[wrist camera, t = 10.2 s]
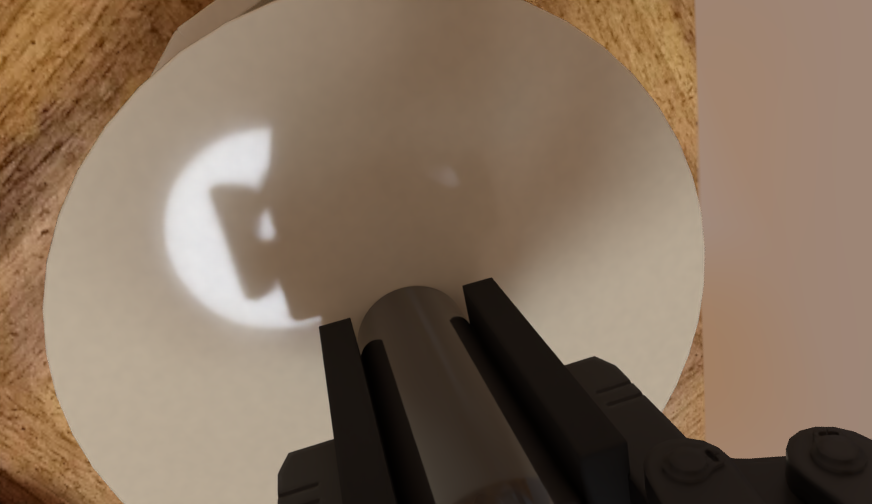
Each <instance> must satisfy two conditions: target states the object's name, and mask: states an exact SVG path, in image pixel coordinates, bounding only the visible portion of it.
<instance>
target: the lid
mask: <svg viewBox="0 0 872 504" xmlns="http://www.w3.org/2000/svg"><path fill="white" fill-rule="evenodd" d="M704 265H705V244H704V234H703V224H702V214H701V209H700V205H699V201H698V197H697V192H696V188H695V184H694V180H693V176H692V174H691V171H690V169H689V166H688V164H687V161H686V158H685V156H684V153H683V151H682V148H681V146H680V143H679V141H678V139H677V137H676V136H675V134H674V132H673V130H672V129H671V127H670V125H669V124H668V122H667V120H666V118H665V117H664V115H663V113H662V111H661V110H660V108H659V106H658V105H657V104H656V102H655V101H654V100H653V99H652V97H651V96H650V95H649V94H648V92H647V91H646V90H645V88H644V87H643V86H642V85H641V83H640V82H639V81H638V80H637V78H636V77H635V76H634V75H633V74H632V73H631V72H630V71H629V70H628V69H627V68H626V67H625V66H624V65H623V64H622V63H621V62H620V61H618V60H617V59H616V58H615V57H614V56H613V55H612V54H611V53H610V52H609V51H608V50H607V49H606V48H605V47H603V46H602V45H601V44H599V43H598V42H597V41H595V40H594V39H592V38H591V37H589V36H588V35H586V34H585V33H583V32H582V31H580V30H579V29H578V28H576V27H575V26H573V25H572V24H570V23H569V22H567V21H566V20H564V19H562V18H560V17H557V16H555V15H553V14H551V13H549V12H547V11H545V10H543V9H541V8H539V7H537V6H535V5H533V4H531V3H529V2H527V1H524V0H275V1H272V2H270V3H268V4H266V5H263V6H261V7H259V8H257V9H254V10H252V11H250V12H248V13H245V14H243V15H241V16H239V17H236V18H234V19H232V20H230V21H227V22H225V23H224V24H222V25H221V26H219V27H218V28H216V29H214V30H213V31H211V32H210V33H208V34H207V35H205V36H203V37H202V38H200V39H199V40H197V41H195V42H194V43H192V44H191V45H189V46H188V47H186V48H184V49H183V50H181V51H180V52H179V53H177V54H176V55H175V56H174V57H173V58H172V59H170V60H169V61H168V62H167V63H166V64H165V65H164V66H162V67H161V68H160V69H159V70H158V71H157V72H155V73H154V74H153V75H152V76H151V77H150V78H148V79H147V80H146V81H145V82H144V83H143V84H141V85H140V86H139V87H138V88H137V90H136V91H135V92H134V93H133V94H132V95H131V97H130V98H129V99H128V100H127V101H126V102H125V104H124V105H123V106H122V107H121V108H120V109H119V110H118V112H117V113H116V114H115V115H114V116H113V117H112V119H111V120H110V121H109V122H108V123H107V124H106V126H105V127H104V129H103V130H102V132H101V133H100V135H99V137H98V138H97V140H96V141H95V143H94V144H93V146H92V148H91V149H90V151H89V152H88V154H87V156H86V157H85V159H84V160H83V162H82V164H81V165H80V167H79V168H78V170H77V173H76V175H75V177H74V180H73V182H72V184H71V187H70V189H69V191H68V194H67V196H66V198H65V201H64V203H63V205H62V208H61V210H60V212H59V215H58V218H57V222H56V226H55V230H54V234H53V238H52V242H51V246H50V250H49V254H48V258H47V262H46V273H45V284H44V296H43V308H42V309H43V322H44V335H45V348H46V355H47V359H48V364H49V368H50V372H51V376H52V380H53V384H54V388H55V392H56V396H57V398H58V401H59V403H60V406H61V408H62V410H63V413H64V415H65V418H66V420H67V422H68V425H69V427H70V429H71V432H72V434H73V436H74V438H75V439H76V441H77V442H78V444H79V446H80V447H81V449H82V451H83V452H84V454H85V455H86V457H87V459H88V460H89V462H90V464H91V465H92V467H93V468H94V470H95V471H96V472H97V473H98V475H99V476H100V477H101V478H102V479H103V480H104V482H105V483H106V484H107V485H108V486H109V488H110V489H111V490H112V491H113V492H114V494H115V495H116V496H117V497H118V498H119V499H120V500H121V501H122V502H123V503H124V504H278V472H279V470H280V468H281V466H282V464H283V462H284V460H285V459H286V457H287V455H288V453H290V452H293V451H296V450H300V449H303V448H306V447H309V446H312V445H316V444H319V443H322V442H325V441H328V440H332V439H334V436H333V429H332V422H331V414H330V407H329V399H328V392H327V384H326V377H325V370H324V362H323V355H322V347H321V340H320V332H319V326H322V325H326V324H329V323H333V322H336V321H340V320H343V319H347V318H351V322H352V325H353V329H354V332H355V336H356V340H357V343H358V347H359V350H360V354H361V357H362V361H363V366H364V370H365V374H366V378H367V382H368V386H369V390H370V394H371V398H372V402H373V406H374V410H375V414H376V418H377V422H378V426H379V430H380V434H381V438H382V442H383V446H384V450H385V454H386V458H387V462H388V466H389V470H390V474H391V478H392V482H393V486H394V490H395V494H396V498H397V502H398V504H583V503H582V501H581V499H580V498H579V496H578V495H577V493H576V492H575V490H574V488H573V487H572V485H571V484H570V482H569V480H568V479H567V477H566V476H565V474H564V473H563V471H562V469H561V468H560V466H559V465H558V463H557V461H556V460H555V458H554V457H553V455H552V454H551V452H550V450H549V449H548V447H547V446H546V444H545V442H544V441H543V439H542V438H541V436H540V435H539V433H538V431H537V430H536V428H535V427H534V425H533V423H532V422H531V420H530V419H529V417H528V415H527V414H526V412H525V411H524V409H523V408H522V406H521V404H520V403H519V401H518V400H517V398H516V396H515V395H514V393H513V392H512V390H511V389H510V387H509V385H508V384H507V382H506V381H505V379H504V377H503V376H502V374H501V373H500V371H499V370H498V368H497V366H496V365H495V363H494V362H493V360H492V358H491V357H490V355H489V354H488V352H487V351H486V349H485V347H484V346H483V344H482V343H481V341H480V339H479V338H478V336H477V335H476V333H475V332H474V330H473V328H472V327H471V325H470V322H469V317H468V312H467V307H466V302H465V297H464V292H463V287H462V285H466V284H469V283H473V282H477V281H480V280H484V279H487V278H491V277H492V278H493V279H494V281H495V282H496V283H497V284H498V285H499V287H500V288H501V289H502V290H503V291H504V293H505V294H506V295H507V296H508V298H509V299H510V300H511V301H512V302H513V304H514V305H515V306H516V307H517V308H518V310H519V311H520V312H521V313H522V314H523V316H524V317H525V318H526V319H527V321H528V322H529V323H530V324H531V325H532V327H533V328H534V329H535V330H536V331H537V333H538V334H539V335H540V336H541V338H542V339H543V340H544V341H545V342H546V344H547V345H548V346H549V347H550V348H551V350H552V351H553V352H554V353H555V354H556V356H557V357H558V358H559V359H560V361H561V362H562V363H563V364H564V365H567V364H570V363H573V362H577V361H580V360H583V359H586V358H589V357H593V356H596V357H598V358H600V359H603V360H605V361H607V362H609V363H611V364H614V365H616V366H617V367H618V368H619V369H620V370H621V371H622V372H623V373H624V374H625V375H626V376H627V377H628V378H629V379H630V381H631V383H634V385H635V386H636V387H637V388H638V389H639V390H640V391H641V392H642V394H643V395H645V396H646V397H647V398H648V399H649V400H650V401H651V402H652V403H653V404H654V405H655V406H656V407H657V408H658V409H659V410H660V411H661V412H662V411H663V409H664V408H665V406H666V404H667V402H668V400H669V398H670V396H671V395H672V393H673V391H674V389H675V387H676V385H677V382H678V380H679V378H680V375H681V373H682V370H683V368H684V365H685V363H686V360H687V358H688V356H689V353H690V349H691V345H692V342H693V338H694V335H695V331H696V328H697V324H698V320H699V314H700V308H701V301H702V295H703V288H704V269H705V266H704Z"/></svg>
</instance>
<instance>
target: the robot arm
mask: <svg viewBox="0 0 872 504" xmlns="http://www.w3.org/2000/svg"><path fill="white" fill-rule="evenodd" d="M462 287H463V292H464V297H465V302H466V307H467V312H468V317H469V322H470V325H471V327H472V328H473V330H474V332H475V333H476V335H477V336H478V338H479V339H480V341H481V343H482V344H483V346H484V347H485V349H486V351H487V352H488V354H489V355H490V357H491V358H492V360H493V362H494V363H495V365H496V366H497V368H498V370H499V371H500V373H501V374H502V376H503V377H504V379H505V381H506V382H507V384H508V385H509V387H510V389H511V390H512V392H513V393H514V395H515V396H516V398H517V400H518V401H519V403H520V404H521V406H522V408H523V409H524V411H525V412H526V414H527V415H528V417H529V419H530V420H531V422H532V423H533V425H534V427H535V428H536V430H537V431H538V433H539V435H540V436H541V438H542V439H543V441H544V442H545V444H546V446H547V447H548V449H549V450H550V452H551V454H552V455H553V457H554V458H555V460H556V461H557V463H558V465H559V466H560V468H561V469H562V471H563V473H564V474H565V476H566V477H567V479H568V480H569V482H570V484H571V485H572V487H573V488H574V490H575V492H576V493H577V495H578V496H579V498H580V499H581V501H582V503H583V504H872V440H871V439H869V438H867V437H864V436H862V435H860V434H858V433H856V432H853V431H849V430H845V429H840V428H836V427H813V428H809V429H805V430H801V431H799V432H798V433H796V434H795V435H794V436H792V437H791V438H790V439H789V442H788V445H787V448H786V456H782V457H767V458H754V459H753V458H752V459H734V458H730V457H729V456H728V455H726V454H725V453H724V452H723V451H722V450H720V449H719V448H718V447H716V446H714V445H711V444H709V443H707V442H705V441H701V440H695V439H689V438H686V437H685V436H684V435H683V434H682V433H681V432H680V431H679V430H678V429H677V428H676V427H675V426H674V425H673V424H672V423H671V421H670V420H669V419H668V418H667V417H666V416H665V415H664V414H663V413H662V412H661V411H660V410H659V409H658V408H657V407H656V406H655V405H654V404H653V403H652V402H651V401H650V400H649V399H648V398H647V397H646V396H645V395H643V394H642V392H641V391H640V390H639V389H638V388H637V387H636V386H635V385H634V383H631V381H630V379H629V378H628V377H627V376H626V375H625V374H624V373H623V372H622V371H621V370H620V369H619V368H618V367H617V366H616V365H614V364H611V363H609V362H607V361H605V360H603V359H600V358H598V357H596V356H593V357H589V358H586V359H583V360H580V361H577V362H573V363H570V364H567V365H564V364H563V363H562V362H561V361H560V359H559V358H558V357H557V356H556V354H555V353H554V352H553V351H552V350H551V348H550V347H549V346H548V345H547V344H546V342H545V341H544V340H543V339H542V338H541V336H540V335H539V334H538V333H537V331H536V330H535V329H534V328H533V327H532V325H531V324H530V323H529V322H528V321H527V319H526V318H525V317H524V316H523V314H522V313H521V312H520V311H519V310H518V308H517V307H516V306H515V305H514V304H513V302H512V301H511V300H510V299H509V298H508V296H507V295H506V294H505V293H504V291H503V290H502V289H501V288H500V287H499V285H498V284H497V283H496V282H495V281H494V279H493V278H492V277H491V278H487V279H484V280H480V281H477V282H473V283H469V284H466V285H462ZM319 332H320V340H321V347H322V355H323V362H324V370H325V377H326V384H327V392H328V399H329V407H330V414H331V422H332V429H333V436H334V439H332V440H328V441H325V442H322V443H319V444H316V445H312V446H309V447H306V448H303V449H300V450H296V451H293V452H290V453H288V455H287V457H286V459H285V460H284V462H283V464H282V466H281V468H280V470H279V472H278V504H398V502H397V498H396V494H395V490H394V486H393V482H392V478H391V474H390V470H389V466H388V462H387V458H386V454H385V450H384V446H383V442H382V438H381V434H380V430H379V426H378V422H377V418H376V414H375V410H374V406H373V402H372V398H371V394H370V390H369V386H368V382H367V378H366V374H365V370H364V366H363V361H362V357H361V354H360V350H359V347H358V343H357V340H356V336H355V332H354V329H353V325H352V322H351V318H347V319H343V320H340V321H336V322H333V323H329V324H326V325H322V326H319Z"/></svg>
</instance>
